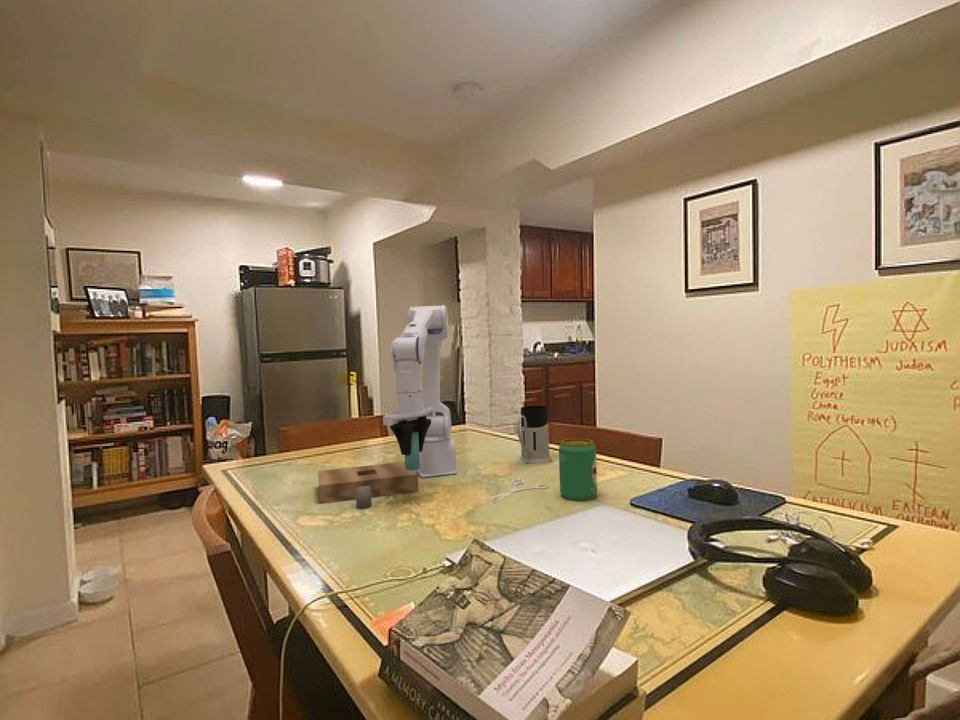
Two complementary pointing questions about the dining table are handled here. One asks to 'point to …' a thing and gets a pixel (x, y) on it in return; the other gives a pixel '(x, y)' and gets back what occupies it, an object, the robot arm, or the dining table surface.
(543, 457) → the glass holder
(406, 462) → the teal pin
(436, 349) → the robot arm
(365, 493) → the charcoal stub
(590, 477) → the beverage can
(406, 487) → the walnut hole block
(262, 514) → the dining table surface
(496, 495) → the scissors
